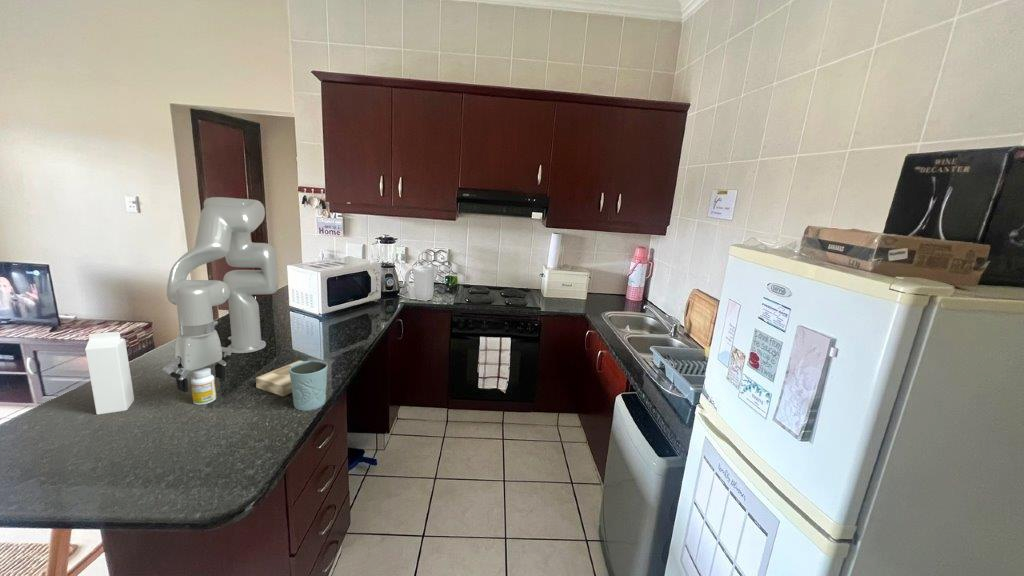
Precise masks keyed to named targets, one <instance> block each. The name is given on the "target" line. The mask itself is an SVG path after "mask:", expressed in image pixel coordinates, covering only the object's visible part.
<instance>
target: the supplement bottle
mask: <svg viewBox="0 0 1024 576" xmlns="http://www.w3.org/2000/svg"><path fill="white" fill-rule="evenodd" d="M192 376H193V378H192V379H191V380H190V386H191V394H192V401H193V404H195V405H198V406H200V405H207V404H210V403H213V402H214V401H216V399H217V392H216V391H217V390H216V382H215V381H216V378H215V375H213V374H212V370H211V368H210V367H202V368H199V369H195V370H192Z"/></svg>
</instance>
